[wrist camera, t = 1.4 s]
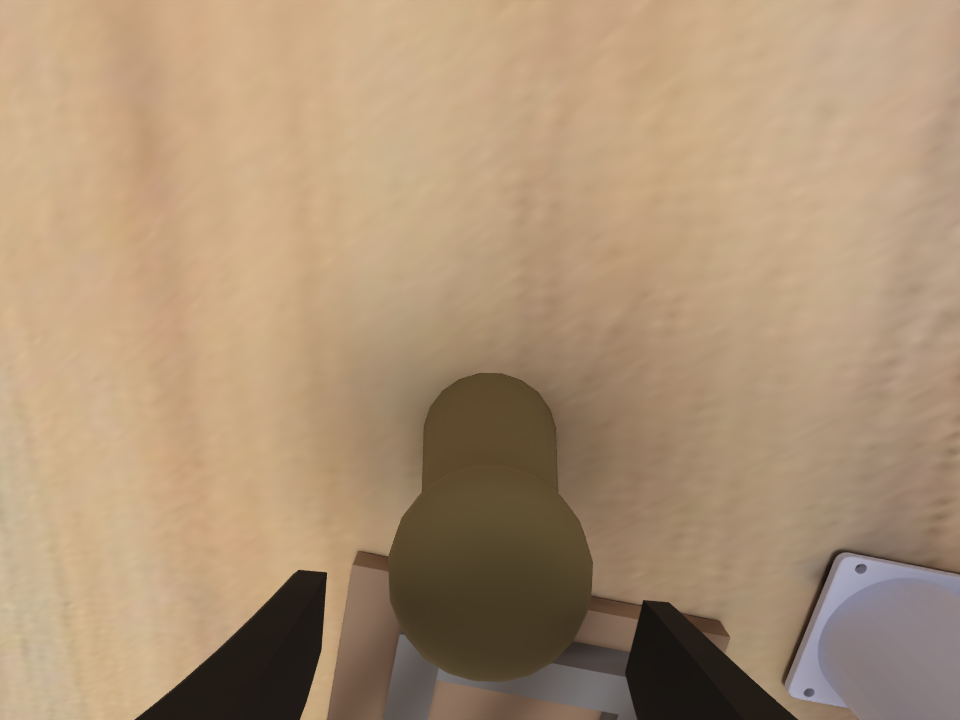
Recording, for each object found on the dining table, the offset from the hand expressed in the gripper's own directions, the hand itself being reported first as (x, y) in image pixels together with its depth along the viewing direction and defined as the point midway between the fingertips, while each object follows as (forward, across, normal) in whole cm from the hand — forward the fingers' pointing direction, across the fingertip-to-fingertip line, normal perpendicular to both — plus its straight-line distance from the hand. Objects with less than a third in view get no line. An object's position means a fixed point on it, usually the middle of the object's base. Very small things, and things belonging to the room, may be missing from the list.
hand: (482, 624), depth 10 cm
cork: (+11, -1, 0) cm, 11 cm away
